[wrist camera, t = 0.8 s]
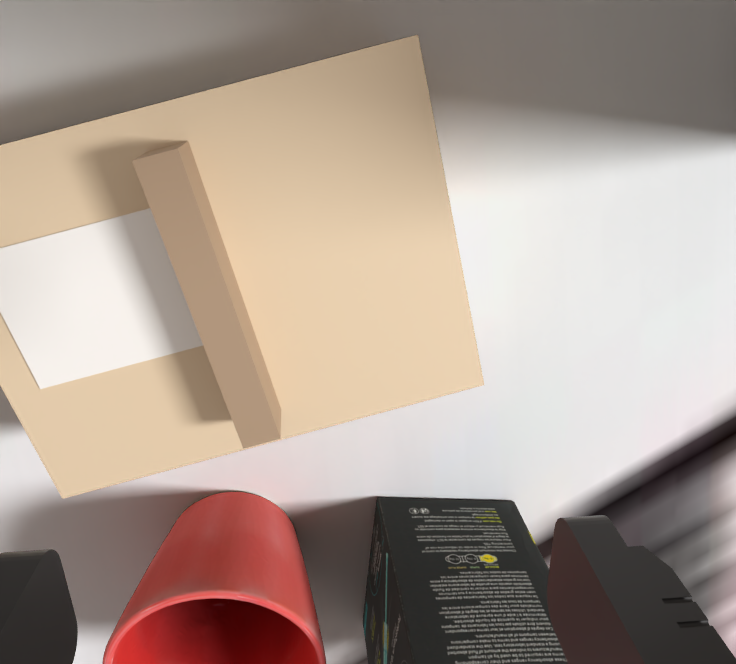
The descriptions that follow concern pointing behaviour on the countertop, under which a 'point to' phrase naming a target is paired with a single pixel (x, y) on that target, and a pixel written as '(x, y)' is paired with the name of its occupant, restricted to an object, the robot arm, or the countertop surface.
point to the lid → (230, 269)
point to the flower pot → (223, 592)
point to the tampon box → (456, 586)
